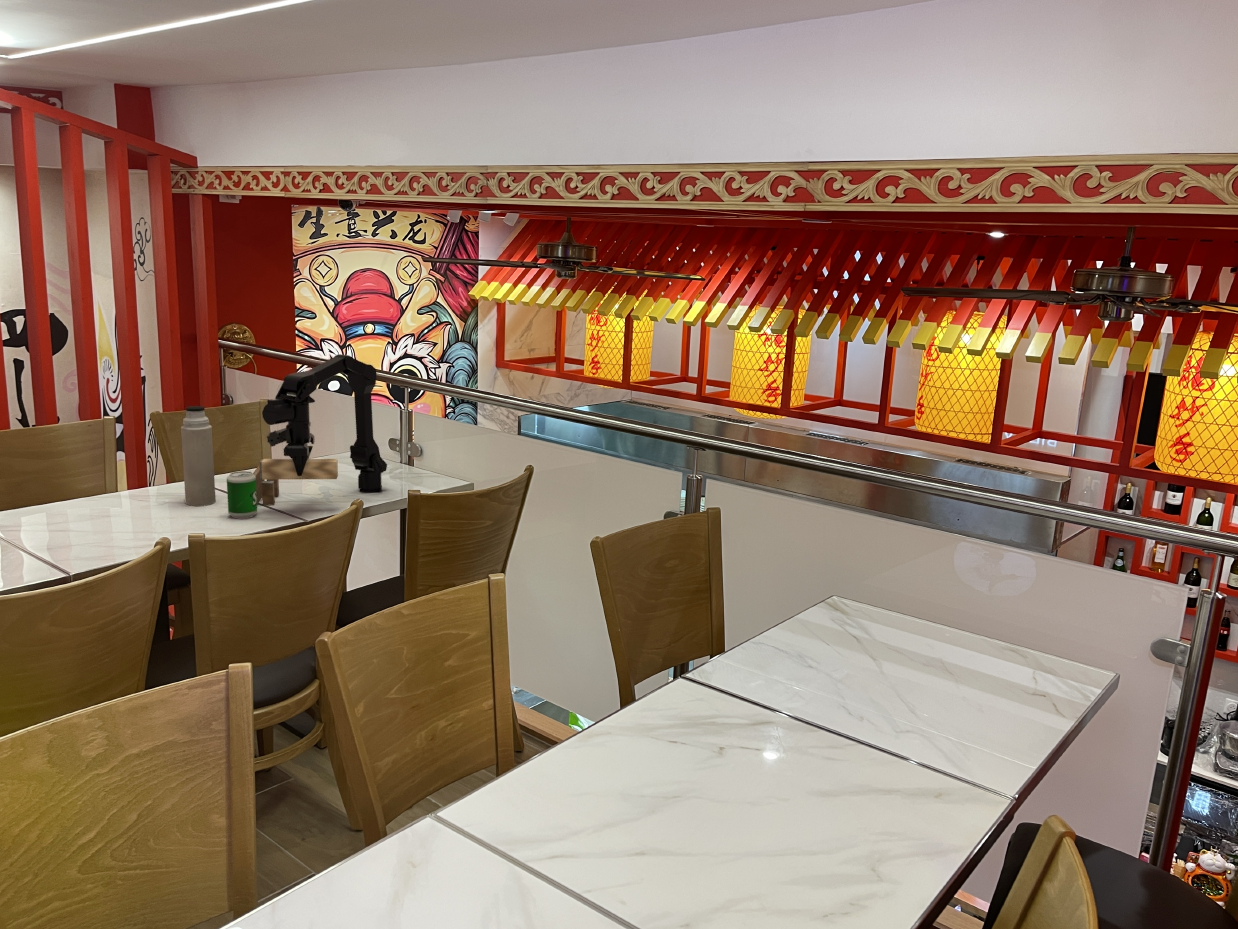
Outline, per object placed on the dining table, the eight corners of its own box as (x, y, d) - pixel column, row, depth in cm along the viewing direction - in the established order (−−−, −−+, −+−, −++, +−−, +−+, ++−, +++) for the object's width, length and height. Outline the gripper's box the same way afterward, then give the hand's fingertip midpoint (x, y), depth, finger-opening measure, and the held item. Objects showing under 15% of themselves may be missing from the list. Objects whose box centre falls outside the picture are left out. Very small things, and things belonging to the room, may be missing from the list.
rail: (337, 475, 272) (337, 458, 271) (336, 479, 268) (336, 462, 267) (262, 476, 268) (261, 458, 267) (260, 479, 264) (259, 462, 263)
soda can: (251, 520, 259) (249, 477, 256) (223, 518, 259) (221, 476, 256) (261, 512, 266) (260, 471, 264) (235, 511, 267) (233, 469, 264)
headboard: (280, 492, 287) (279, 464, 285) (272, 507, 272) (270, 476, 270) (260, 493, 286) (259, 464, 284) (251, 507, 271) (250, 477, 269)
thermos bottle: (201, 497, 279) (196, 403, 272) (221, 501, 275) (216, 406, 269) (179, 503, 271) (173, 407, 265) (199, 507, 268) (193, 410, 262)
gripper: (273, 413, 272) (275, 466, 275) (262, 426, 254) (265, 482, 258) (314, 414, 274) (315, 466, 278) (306, 426, 256) (308, 482, 260)
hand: (300, 474), depth 268 cm, fingers closed on rail, 4 cm apart
